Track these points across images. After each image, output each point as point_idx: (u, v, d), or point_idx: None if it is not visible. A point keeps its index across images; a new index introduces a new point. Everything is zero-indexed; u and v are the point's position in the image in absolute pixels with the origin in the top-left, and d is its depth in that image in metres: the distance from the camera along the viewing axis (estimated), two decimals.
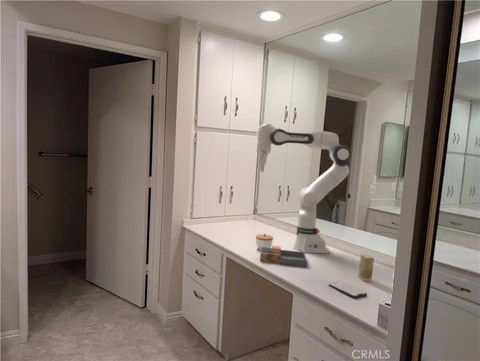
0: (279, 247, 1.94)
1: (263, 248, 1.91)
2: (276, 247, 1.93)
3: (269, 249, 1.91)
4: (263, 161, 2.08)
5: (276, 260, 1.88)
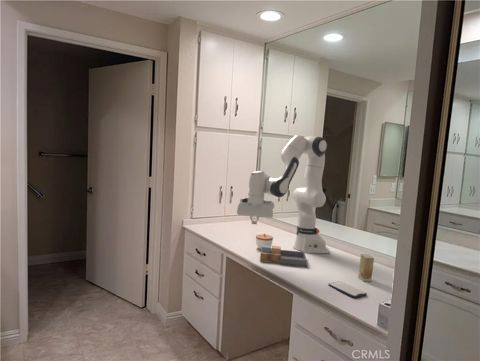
0: (279, 247, 1.94)
1: (263, 248, 1.91)
2: (276, 247, 1.93)
3: (269, 249, 1.91)
4: None
5: (276, 260, 1.88)
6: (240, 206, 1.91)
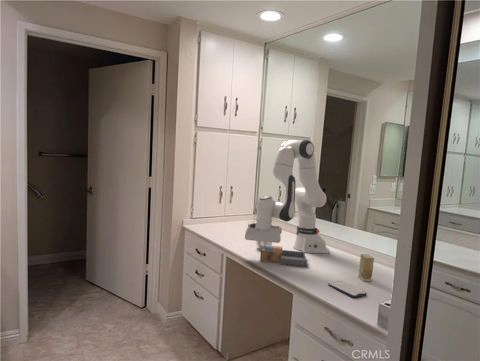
0: (281, 247, 1.93)
1: (265, 248, 1.91)
2: (278, 247, 1.93)
3: (271, 249, 1.91)
4: (280, 238, 1.93)
5: (276, 260, 1.88)
6: (248, 231, 1.92)
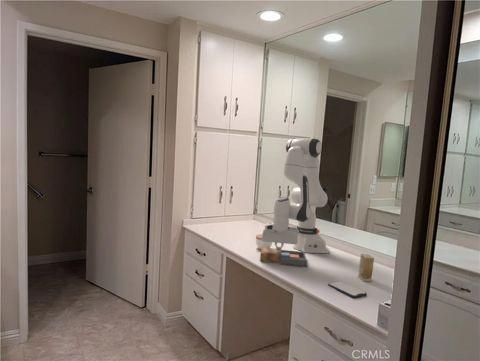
0: None
1: (282, 256, 1.91)
2: None
3: (288, 256, 1.90)
4: None
5: (276, 260, 1.88)
6: (265, 233, 1.91)
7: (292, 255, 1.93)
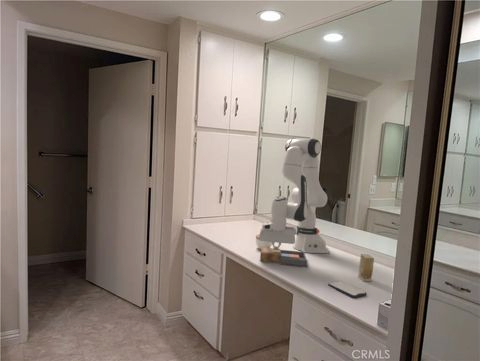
0: None
1: (282, 257, 1.91)
2: None
3: (288, 258, 1.90)
4: None
5: (276, 260, 1.88)
6: (262, 232, 1.91)
7: (292, 255, 1.93)
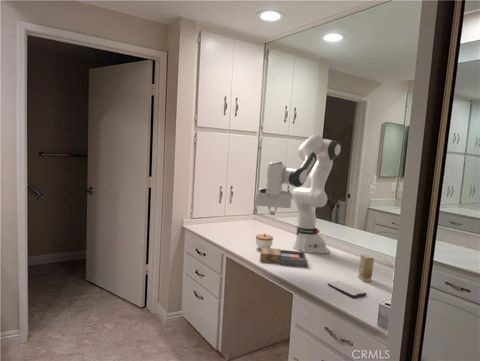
0: None
1: (282, 257, 1.91)
2: None
3: (288, 258, 1.90)
4: None
5: (276, 260, 1.88)
6: (258, 197, 1.90)
7: (292, 255, 1.93)
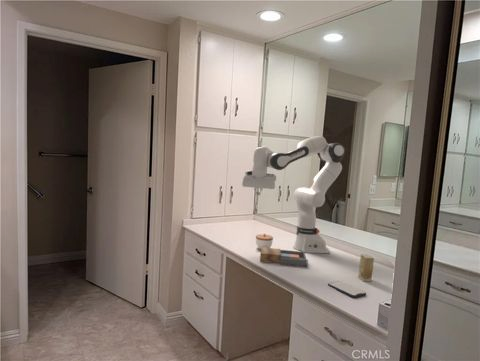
0: None
1: (282, 257, 1.91)
2: None
3: (288, 258, 1.90)
4: None
5: (276, 260, 1.88)
6: (245, 178, 2.10)
7: (292, 255, 1.93)
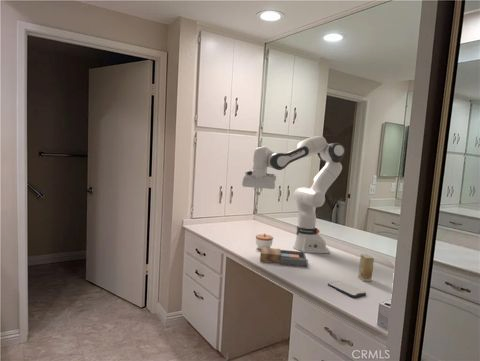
0: None
1: (282, 257, 1.91)
2: None
3: (288, 258, 1.90)
4: None
5: (276, 260, 1.88)
6: (245, 178, 2.10)
7: (292, 255, 1.93)
